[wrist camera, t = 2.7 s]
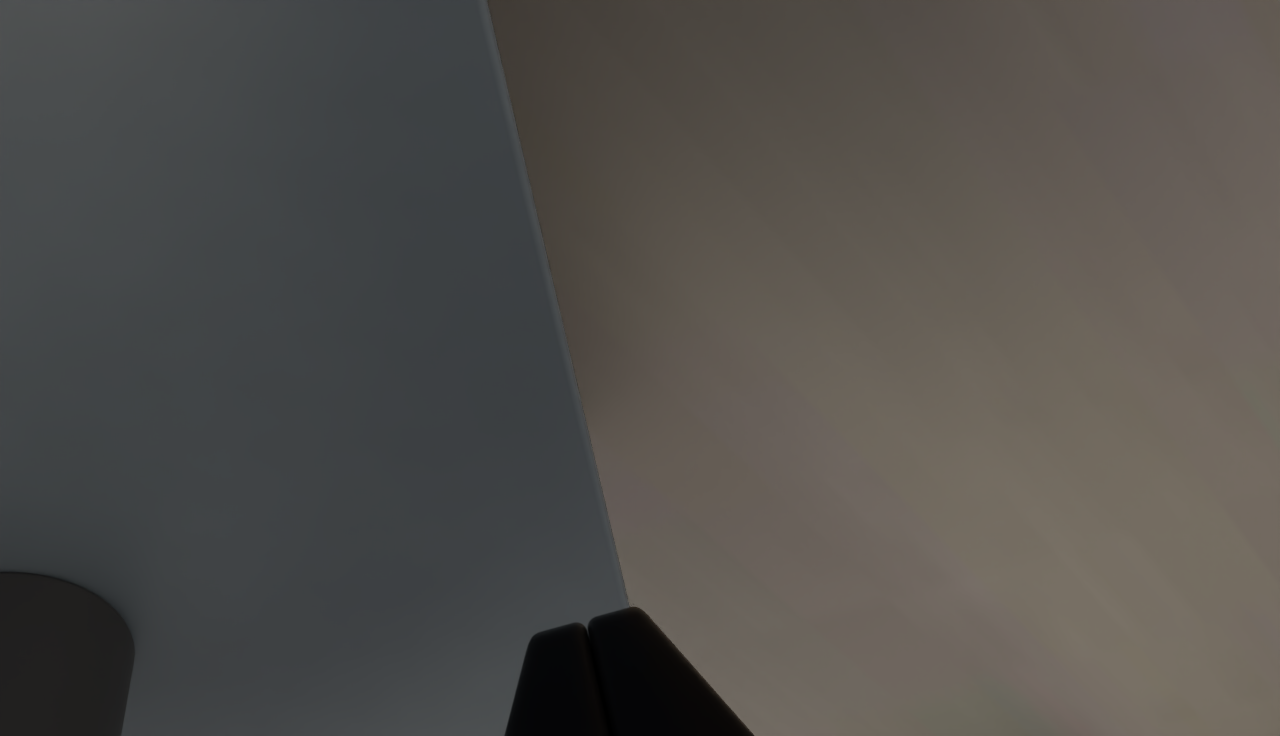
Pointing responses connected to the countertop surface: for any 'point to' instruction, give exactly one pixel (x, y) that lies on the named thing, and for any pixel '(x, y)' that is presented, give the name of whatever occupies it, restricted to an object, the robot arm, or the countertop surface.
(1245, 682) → the countertop surface
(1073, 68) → the countertop surface
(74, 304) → the grey box lid
